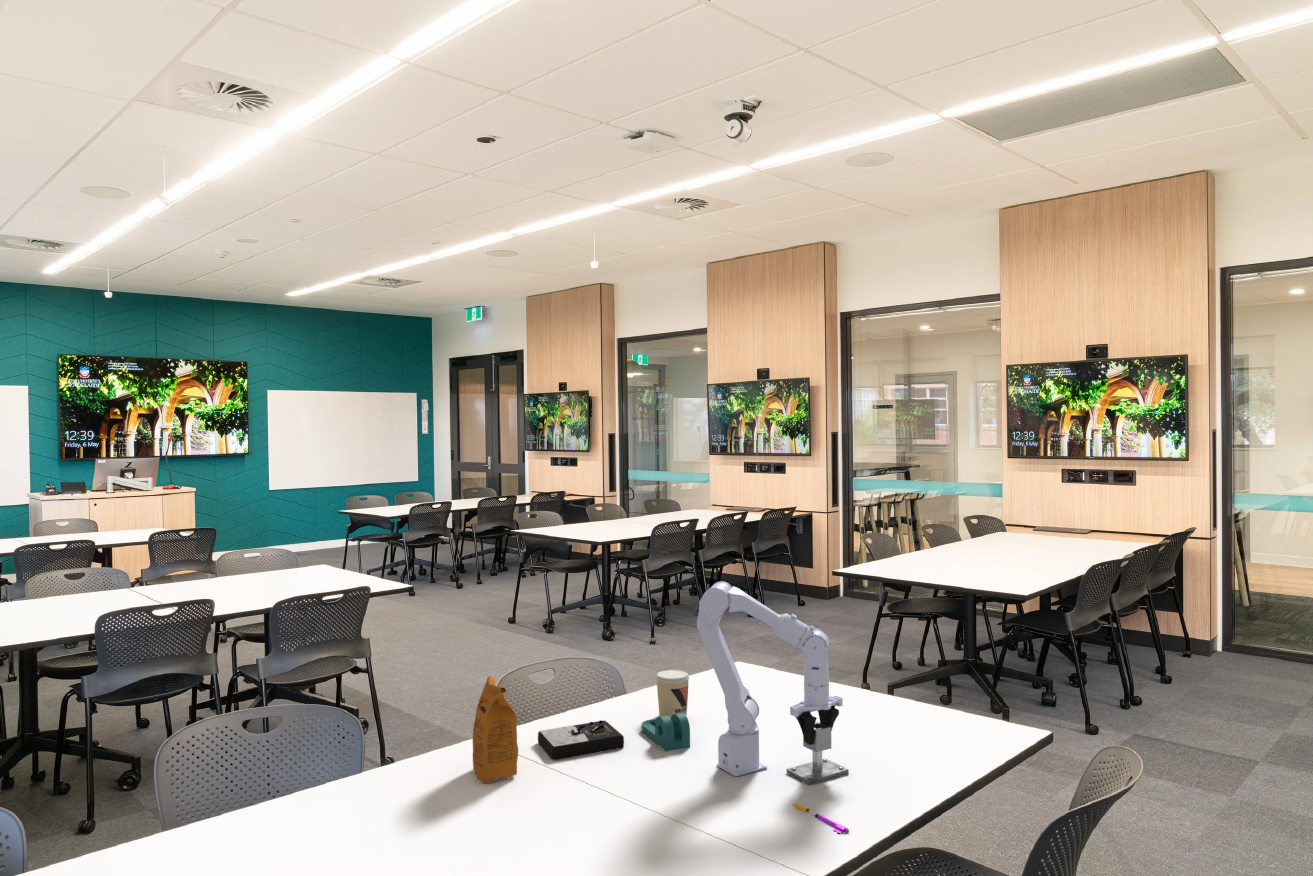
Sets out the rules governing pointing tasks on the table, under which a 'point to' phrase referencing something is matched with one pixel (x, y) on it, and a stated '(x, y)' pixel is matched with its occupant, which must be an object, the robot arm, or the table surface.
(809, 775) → the plate
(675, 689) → the coffee cup
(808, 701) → the robot arm
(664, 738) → the bracket
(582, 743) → the black printed box
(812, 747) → the tube
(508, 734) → the coffee package
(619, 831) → the table surface
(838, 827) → the purple and orange rod
